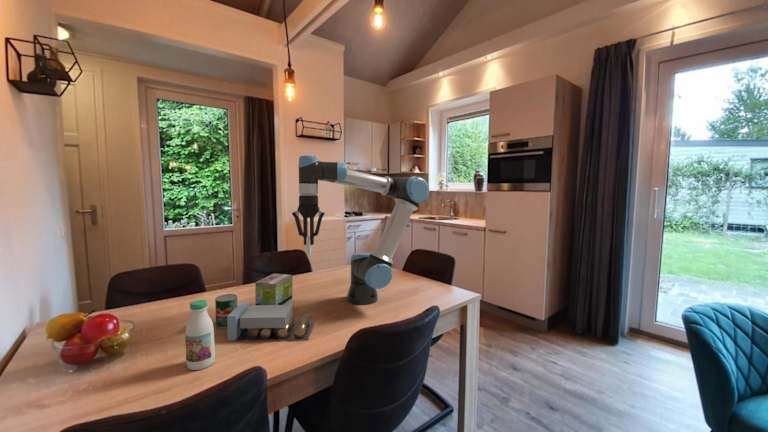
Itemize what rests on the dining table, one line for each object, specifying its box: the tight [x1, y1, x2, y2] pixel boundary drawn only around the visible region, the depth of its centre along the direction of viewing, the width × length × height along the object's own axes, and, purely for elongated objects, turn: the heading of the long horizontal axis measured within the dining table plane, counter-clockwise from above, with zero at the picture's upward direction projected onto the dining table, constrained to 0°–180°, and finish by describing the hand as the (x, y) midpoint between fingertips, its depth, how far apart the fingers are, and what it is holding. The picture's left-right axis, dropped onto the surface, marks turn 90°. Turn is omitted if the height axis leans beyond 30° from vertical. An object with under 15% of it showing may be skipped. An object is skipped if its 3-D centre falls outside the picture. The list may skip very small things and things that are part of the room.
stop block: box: [226, 301, 251, 342], centre depth 122 cm, size 3×14×9 cm, turn 4°
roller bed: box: [233, 313, 315, 342], centre depth 123 cm, size 26×15×4 cm, turn 94°
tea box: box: [254, 273, 294, 306], centre depth 143 cm, size 15×10×15 cm, turn 168°
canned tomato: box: [214, 293, 238, 329], centre depth 128 cm, size 8×8×11 cm
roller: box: [249, 328, 262, 337], centre depth 123 cm, size 10×3×3 cm
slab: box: [240, 304, 293, 328], centre depth 123 cm, size 16×12×4 cm
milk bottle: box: [184, 299, 216, 371], centre depth 99 cm, size 8×8×20 cm
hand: (308, 252), depth 131 cm, fingers closed
